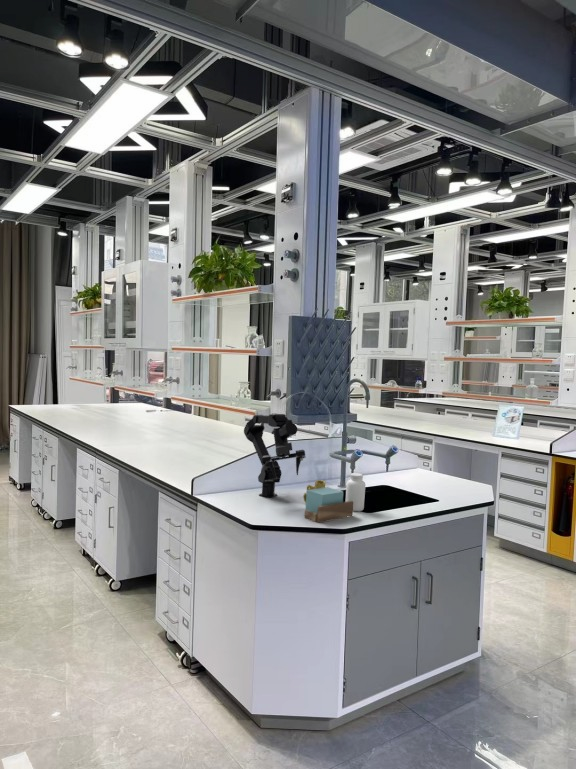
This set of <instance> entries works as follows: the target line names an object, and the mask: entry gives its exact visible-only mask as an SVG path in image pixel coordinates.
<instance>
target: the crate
mask: <svg viewBox="0 0 576 769" xmlns="http://www.w3.org/2000/svg"><path fill="white" fill-rule="evenodd" d="M306 492H307V494H306V503H305V510H308V511H311V512H314V513H317V511H318V506H324V505H330V504H336V503H341V502H344V491H342V490H339V489H335V488H332V487H328V486H325V488H318V489H311V490H307V489H306ZM305 510H304V511H305Z"/></svg>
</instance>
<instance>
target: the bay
mask: <svg viewBox="0 0 576 769" xmlns="http://www.w3.org/2000/svg"><path fill="white" fill-rule="evenodd" d="M353 502H354V501H347V502H345V501H343V502H341V503H336V504H330V505H324V506H318V511H317V513H314V512H311V511H308V510H304V514H303V516H304V519H306V520H308V521H312V522H314V523H320V524H321V523H324V522H330V521H333V520H339V518H340V519H343V517H345V518H348V517H347V516H350V517H353V516H352V515H353V514H354V513H353V512H354V511H353Z"/></svg>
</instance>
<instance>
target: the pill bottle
mask: <svg viewBox="0 0 576 769" xmlns="http://www.w3.org/2000/svg"><path fill="white" fill-rule="evenodd" d="M349 477H350V479H347V482H346V489H345V501H344V502H347V501H354V502H353V512H360V511H361V512H362V511H363V510H364V508H365V495H366V482H365V481H364V479H363V478H364V476H363V474H362V473H359V472H358V473H357V472H353V473H352V472H351V473H350V475H349Z"/></svg>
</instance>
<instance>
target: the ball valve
mask: <svg viewBox="0 0 576 769" xmlns="http://www.w3.org/2000/svg"><path fill="white" fill-rule="evenodd" d="M326 484H327V482H326V481H325V480H322V479H318V480H315V481H314V486H312V485H311V484H309V485H307V486H306V492H304V494H303V496H302V498H303V501H304V504H306V494H307V490H311V489H318V488H325V487H326Z"/></svg>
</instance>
